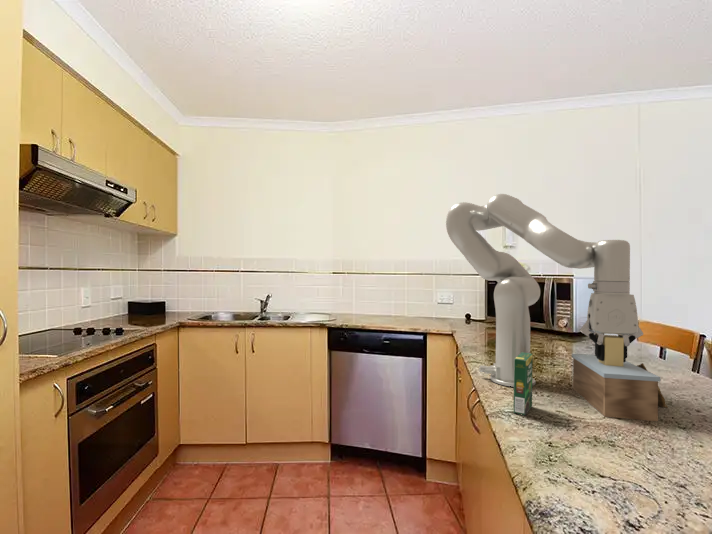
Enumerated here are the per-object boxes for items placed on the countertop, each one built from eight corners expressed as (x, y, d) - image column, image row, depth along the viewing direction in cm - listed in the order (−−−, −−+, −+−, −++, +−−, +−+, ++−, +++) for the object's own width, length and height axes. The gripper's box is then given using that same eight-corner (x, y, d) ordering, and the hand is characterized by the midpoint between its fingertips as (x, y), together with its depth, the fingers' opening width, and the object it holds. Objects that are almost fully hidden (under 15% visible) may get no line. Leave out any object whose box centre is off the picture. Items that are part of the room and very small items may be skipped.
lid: (604, 377, 85) (604, 342, 85) (571, 356, 106) (572, 328, 106) (660, 381, 83) (660, 345, 83) (615, 359, 103) (616, 330, 103)
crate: (604, 416, 85) (605, 377, 85) (572, 388, 105) (573, 357, 105) (657, 421, 83) (658, 381, 83) (614, 392, 103) (615, 359, 103)
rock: (618, 381, 106) (614, 384, 98) (641, 359, 103) (639, 361, 96) (656, 412, 100) (655, 418, 92) (682, 390, 97) (683, 395, 89)
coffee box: (525, 417, 84) (526, 359, 84) (512, 414, 86) (513, 357, 86) (533, 406, 91) (533, 353, 91) (520, 404, 92) (521, 351, 93)
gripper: (580, 288, 92) (579, 361, 92) (657, 290, 89) (657, 366, 89) (570, 287, 100) (569, 354, 100) (641, 288, 96) (640, 359, 96)
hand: (610, 359), depth 94 cm, fingers closed on lid, 4 cm apart
